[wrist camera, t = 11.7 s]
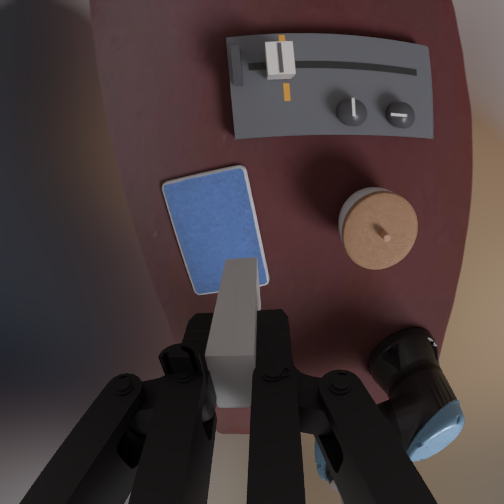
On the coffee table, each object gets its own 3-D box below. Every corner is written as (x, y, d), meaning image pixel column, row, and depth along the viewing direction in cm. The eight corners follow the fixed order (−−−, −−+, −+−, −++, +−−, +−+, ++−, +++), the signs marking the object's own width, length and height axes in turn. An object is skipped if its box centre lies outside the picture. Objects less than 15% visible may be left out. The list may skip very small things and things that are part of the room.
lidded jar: (343, 169, 41) (363, 184, 33) (405, 191, 42) (435, 210, 34) (321, 237, 46) (334, 266, 37) (381, 253, 47) (403, 283, 38)
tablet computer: (270, 281, 50) (270, 286, 49) (196, 293, 51) (194, 297, 50) (245, 162, 42) (245, 164, 41) (161, 181, 43) (158, 183, 42)
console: (425, 136, 38) (443, 141, 33) (236, 138, 40) (233, 141, 35) (420, 48, 32) (438, 43, 27) (227, 41, 34) (223, 31, 29)
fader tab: (291, 78, 34) (295, 73, 29) (267, 79, 34) (268, 74, 29) (288, 49, 32) (292, 40, 27) (264, 50, 32) (265, 41, 27)
